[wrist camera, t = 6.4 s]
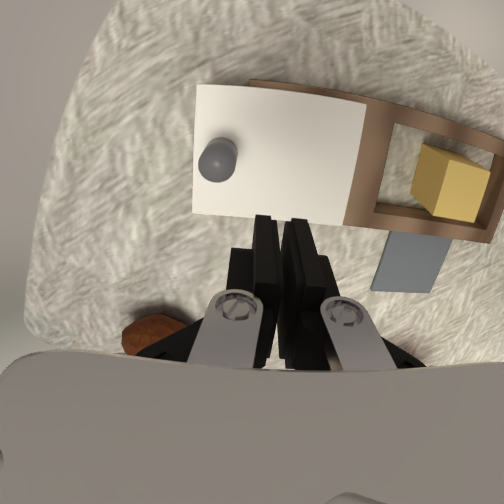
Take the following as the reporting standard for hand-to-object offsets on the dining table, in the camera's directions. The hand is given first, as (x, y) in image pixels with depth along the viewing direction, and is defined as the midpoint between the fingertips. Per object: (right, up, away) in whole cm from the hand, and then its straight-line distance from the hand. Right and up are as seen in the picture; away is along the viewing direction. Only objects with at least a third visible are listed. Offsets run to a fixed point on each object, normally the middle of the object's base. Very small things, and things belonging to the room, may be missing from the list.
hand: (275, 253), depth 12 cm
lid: (+1, +7, +12) cm, 14 cm away
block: (+17, +8, +15) cm, 24 cm away
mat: (+16, -1, +20) cm, 26 cm away
